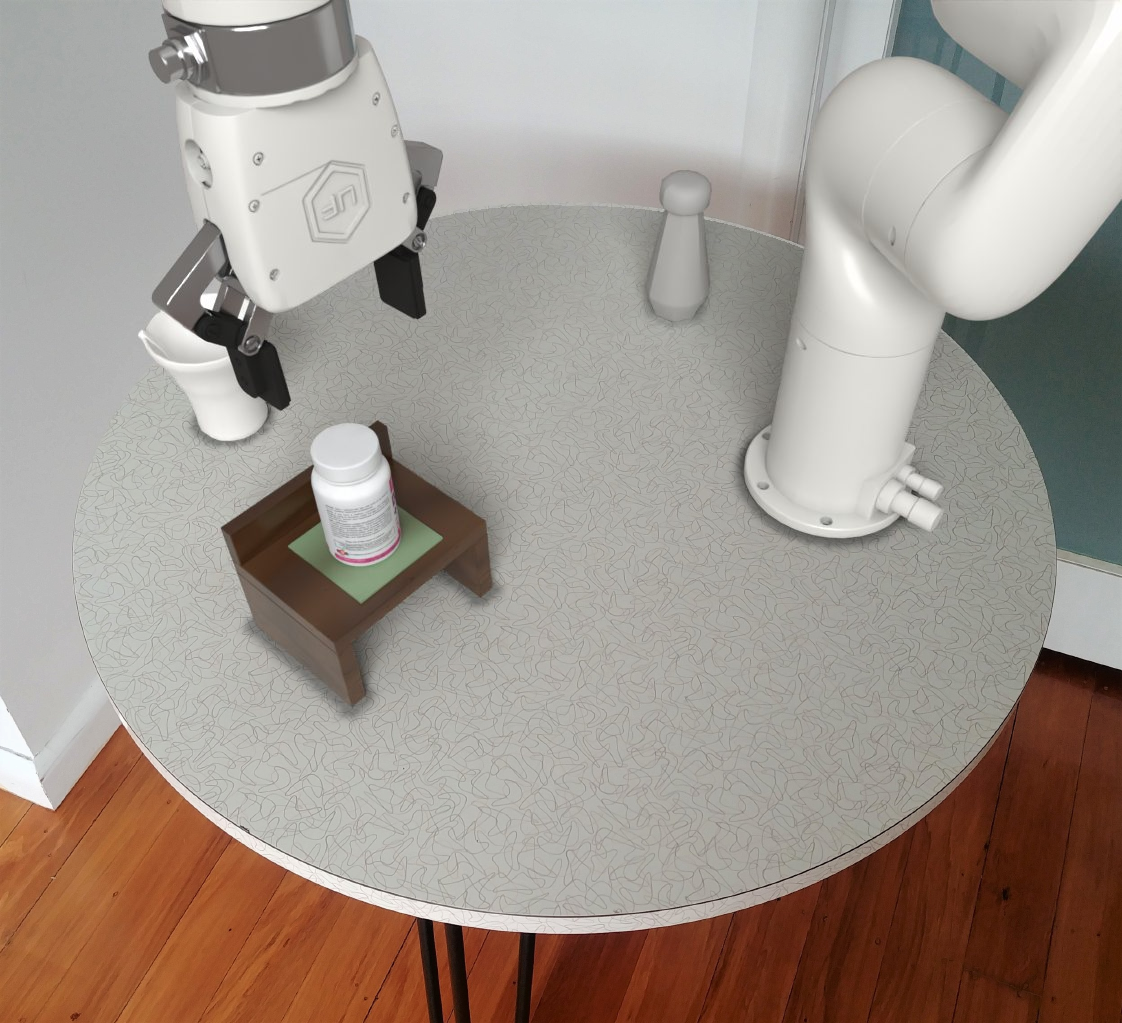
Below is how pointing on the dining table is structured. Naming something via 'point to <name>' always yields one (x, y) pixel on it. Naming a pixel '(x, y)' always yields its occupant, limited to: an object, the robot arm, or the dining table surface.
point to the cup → (205, 376)
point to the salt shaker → (680, 248)
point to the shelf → (347, 568)
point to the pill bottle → (354, 495)
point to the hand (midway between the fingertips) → (338, 351)
